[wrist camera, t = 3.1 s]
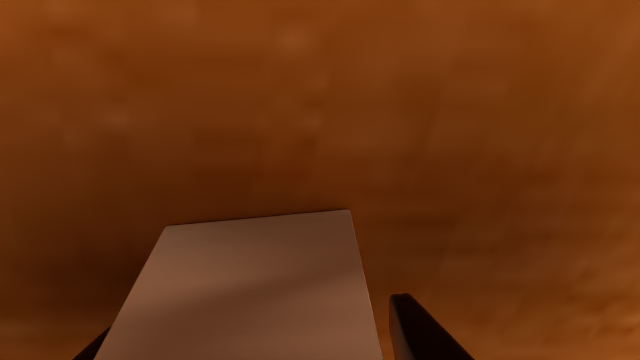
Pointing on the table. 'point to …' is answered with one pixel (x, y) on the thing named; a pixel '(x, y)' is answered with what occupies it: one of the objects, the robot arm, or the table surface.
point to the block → (250, 294)
